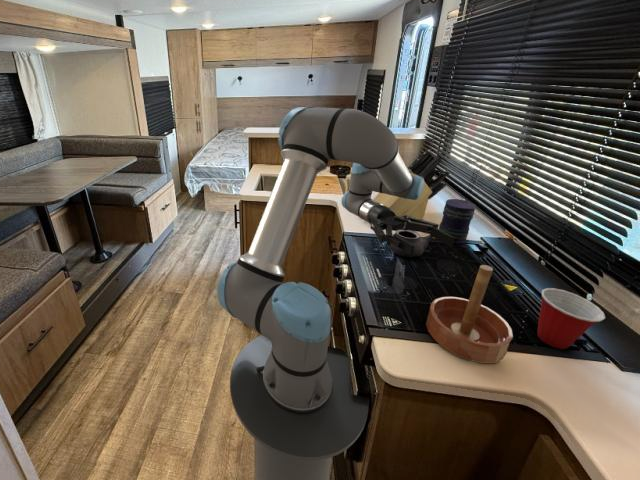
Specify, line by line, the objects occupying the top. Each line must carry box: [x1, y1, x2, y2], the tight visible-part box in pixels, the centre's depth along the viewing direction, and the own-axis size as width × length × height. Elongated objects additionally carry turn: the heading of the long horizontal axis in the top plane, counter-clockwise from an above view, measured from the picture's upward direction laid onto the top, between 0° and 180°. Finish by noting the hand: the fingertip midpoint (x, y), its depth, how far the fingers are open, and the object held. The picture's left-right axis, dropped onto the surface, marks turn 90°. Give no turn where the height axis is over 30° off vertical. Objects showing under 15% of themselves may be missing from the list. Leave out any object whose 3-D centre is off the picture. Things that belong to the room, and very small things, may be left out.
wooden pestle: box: [450, 264, 494, 342], centre depth 74 cm, size 6×6×20 cm
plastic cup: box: [536, 287, 606, 350], centre depth 74 cm, size 11×11×12 cm
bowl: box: [425, 296, 514, 364], centre depth 77 cm, size 17×17×6 cm
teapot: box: [386, 215, 434, 258], centre depth 117 cm, size 19×15×10 cm
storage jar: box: [438, 198, 477, 244], centre depth 122 cm, size 10×10×15 cm
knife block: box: [372, 149, 451, 220], centre depth 137 cm, size 11×35×31 cm, turn 103°
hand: (433, 246), depth 81 cm, fingers open, 13 cm apart
